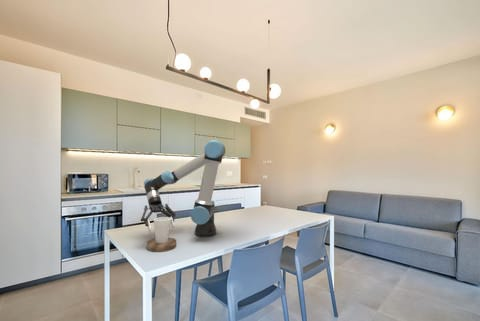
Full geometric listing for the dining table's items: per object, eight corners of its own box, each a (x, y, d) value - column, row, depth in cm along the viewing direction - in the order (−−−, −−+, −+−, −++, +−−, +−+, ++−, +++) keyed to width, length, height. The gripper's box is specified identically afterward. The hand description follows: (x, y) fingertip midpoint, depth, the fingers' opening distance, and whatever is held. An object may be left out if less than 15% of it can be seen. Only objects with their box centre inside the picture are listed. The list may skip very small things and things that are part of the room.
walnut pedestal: (180, 243, 136) (180, 238, 136) (169, 252, 120) (169, 247, 120) (155, 241, 138) (155, 236, 138) (141, 251, 122) (141, 245, 122)
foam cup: (153, 245, 123) (154, 221, 124) (152, 240, 132) (153, 217, 132) (171, 243, 127) (172, 220, 127) (169, 238, 135) (170, 216, 136)
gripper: (171, 201, 151) (180, 229, 139) (131, 204, 135) (137, 235, 123) (174, 194, 147) (184, 222, 135) (134, 197, 131) (140, 228, 119)
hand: (162, 228), depth 129 cm, fingers open, 13 cm apart
